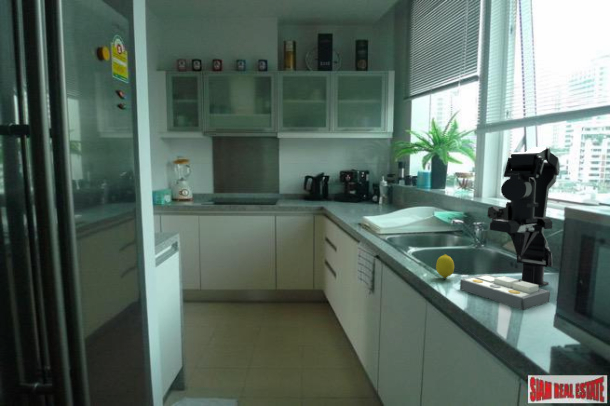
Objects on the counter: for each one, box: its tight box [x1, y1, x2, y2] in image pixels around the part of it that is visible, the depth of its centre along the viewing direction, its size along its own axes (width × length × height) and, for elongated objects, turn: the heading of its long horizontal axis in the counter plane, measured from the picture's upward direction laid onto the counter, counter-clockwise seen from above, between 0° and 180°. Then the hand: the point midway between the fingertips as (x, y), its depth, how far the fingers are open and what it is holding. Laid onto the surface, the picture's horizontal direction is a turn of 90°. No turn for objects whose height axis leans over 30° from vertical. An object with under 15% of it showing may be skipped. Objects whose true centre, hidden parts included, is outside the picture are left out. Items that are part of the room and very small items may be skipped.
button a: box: [477, 276, 494, 283], centre depth 112 cm, size 4×4×2 cm
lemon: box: [435, 253, 455, 279], centre depth 123 cm, size 6×6×8 cm
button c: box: [513, 281, 540, 294], centre depth 102 cm, size 4×4×2 cm
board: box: [459, 273, 551, 311], centre depth 107 cm, size 12×19×3 cm, turn 29°
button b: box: [494, 275, 519, 288], centre depth 107 cm, size 4×4×2 cm
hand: (519, 255), depth 103 cm, fingers closed
